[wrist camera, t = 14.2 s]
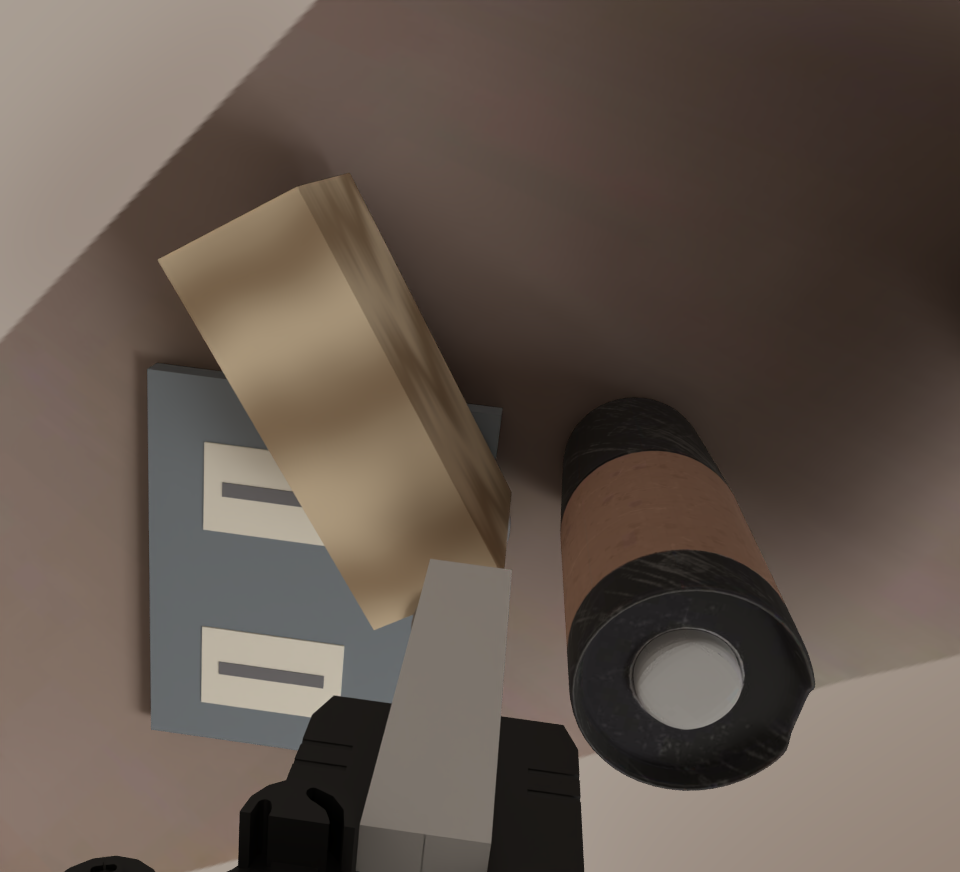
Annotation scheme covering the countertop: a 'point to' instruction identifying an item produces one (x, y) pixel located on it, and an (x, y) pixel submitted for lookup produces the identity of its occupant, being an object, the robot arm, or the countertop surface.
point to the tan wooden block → (347, 390)
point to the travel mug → (671, 608)
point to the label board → (247, 579)
